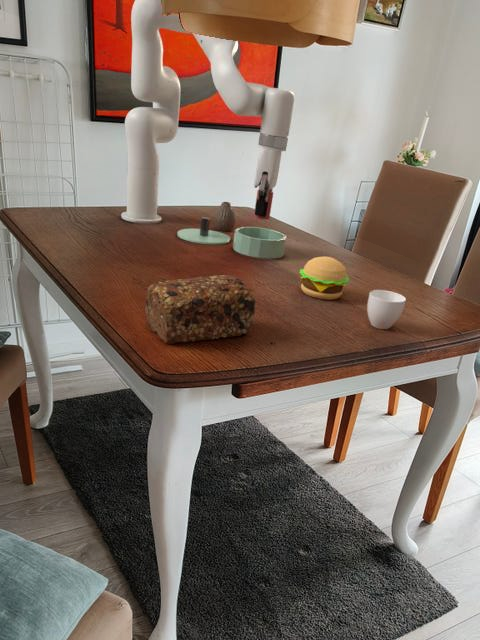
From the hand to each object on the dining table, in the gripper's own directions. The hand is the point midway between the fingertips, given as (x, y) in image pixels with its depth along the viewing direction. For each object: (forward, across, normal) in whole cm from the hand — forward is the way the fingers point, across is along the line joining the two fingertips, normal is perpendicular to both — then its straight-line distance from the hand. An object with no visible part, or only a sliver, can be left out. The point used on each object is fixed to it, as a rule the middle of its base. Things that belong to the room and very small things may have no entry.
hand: (262, 213), depth 162 cm
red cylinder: (+1, 0, 0) cm, 1 cm away
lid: (+11, -4, -17) cm, 20 cm away
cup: (+10, +42, +36) cm, 56 cm away
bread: (+11, +66, +1) cm, 67 cm away
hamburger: (+10, +28, +22) cm, 37 cm away
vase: (+11, -18, -14) cm, 26 cm away
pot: (+11, 0, +1) cm, 11 cm away
